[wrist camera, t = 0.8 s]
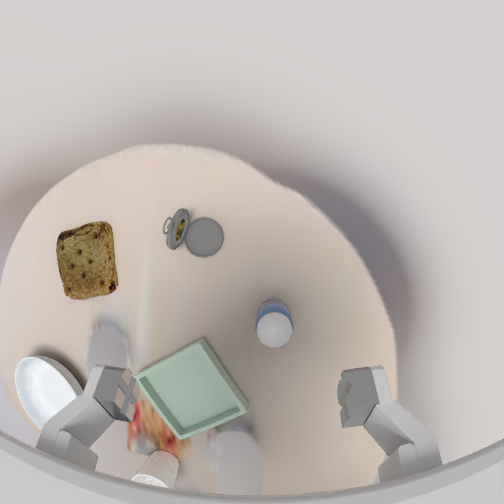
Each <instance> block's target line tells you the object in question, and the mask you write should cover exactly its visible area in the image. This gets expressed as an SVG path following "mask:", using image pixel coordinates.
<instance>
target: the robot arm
mask: <svg viewBox="0 0 504 504" xmlns="http://www.w3.org/2000/svg"><path fill="white" fill-rule="evenodd" d="M341 377H342V380H340V381H339V384H338V402H339V404H340V405H341V406H342V410H341V412H340V415H341V422H342V428H345V427H354V426H362V425H364V426H363V427H364V428H365V429H366V430H367V431H368V433H369V434H370V435H371V436H372V437H373V438H374V440H375V441H376V442H377V443H378V444H379V445H380V447H381V448H382V449H383V450H384V451H385V452H386V454H387V455H388V456H389V457H388V458H387V459H386V460H385V461H384V462H383V463H382V464H381V465H380V466H379V467H378V470H379V477H380V483H378V484H372V485H367V486H362V487H356V488H351V489H344V490H337V491H330V492H321V493H311V494H298V495H276V496H246V495H245V496H244V495H224V494H211V493H201V492H192V491H184V490H178V489H171V488H165V487H160V486H154V485H149V484H144V483H140V482H135V481H131V480H127V479H123V478H119V477H115V476H112V475H108V474H105V473H101V472H98V471H95V468H96V464H97V459H98V456H97V454H96V453H94V452H93V451H92V450H90V449H89V448H90V446H91V445H92V444H93V443H94V442H95V441H96V440H97V439H98V438H99V437H100V436H101V435H102V434H103V433H104V431H105V430H106V429H107V428H108V427H109V426H110V425H111V424H112V423H113V422H114V420H120V421H126V422H132V420H133V416H134V412H135V407H134V405H133V404H134V403H135V402H136V401H137V400H138V398H139V393H140V387H139V383H138V381H137V380H136V379H135V378H134V377H132V372H131V370H130V369H129V368H120V367H113V366H107V365H100V364H96V365H95V366H94V367H93V369H92V372H91V374H90V376H89V379H88V381H87V384H86V386H85V389H84V391H83V394H82V395H79V396H77V397H76V398H75V399H74V400H73V401H71V402H70V403H69V404H68V405H66V406H65V407H64V408H63V409H62V410H60V411H59V412H58V413H57V414H55V415H54V416H53V417H52V418H51V419H49V420H48V421H47V422H46V423H45V424H44V426H43V429H42V432H41V434H40V437H39V440H38V443H37V446H36V448H35V447H33V446H30V445H28V444H26V443H24V442H22V441H20V440H18V439H16V438H14V437H12V436H10V435H9V434H7V433H5V432H3V431H1V430H0V504H504V439H502V440H500V441H498V442H496V443H494V444H492V445H490V446H488V447H486V448H483V449H481V450H479V451H477V452H474V453H472V454H470V455H467V456H465V457H462V458H460V459H457V460H455V461H452V462H449V463H447V464H444V465H442V461H441V457H440V452H439V449H438V445H437V441H436V437H435V435H434V434H433V433H431V432H430V431H429V430H428V429H427V428H426V427H425V426H424V425H422V424H421V423H420V422H419V421H418V420H417V419H416V418H415V417H414V416H413V415H411V414H410V413H409V412H408V411H407V410H406V409H405V408H403V407H402V406H401V405H400V404H399V403H398V402H397V401H394V402H393V399H392V396H391V392H390V388H389V385H388V381H387V378H386V374H385V371H384V368H383V367H382V366H381V365H379V366H372V367H363V368H356V369H348V370H343V371H342V374H341Z"/></svg>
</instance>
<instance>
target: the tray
mask: <svg viewBox="0 0 504 504" xmlns="http://www.w3.org/2000/svg"><path fill="white" fill-rule="evenodd" d="M134 378H135V379H136V380H137V381H138V383H139V387H140V388H141V390H142V391H143V393H144V394H145V396H146V397H147V398H148V400H149V401H150V403H151V404H152V405H153V407H154V408H155V409H156V411H157V412H158V413H159V415H160V416H161V417H162V419H163V420H164V421H165V423H166V424H167V425H168V427H169V428H170V429H171V430H172V432H173V433H174V434H175V435H176V437H177V438H178V439H179V440H181V439H184V438H187V437H190V436H192V435H195V434H197V433H200V432H203V431H205V430H208V429H210V428H213V427H215V426H217V425H220V424H222V423H225V422H227V421H229V420H232V419H234V418H236V417H238V416H241V415H243V414H245V413H247V412H248V405H249V403H248V402H247V400H246V399H245V398H244V396H243V395H242V393H241V392H240V390H239V389H238V388H237V386H236V385H235V383H234V382H233V380H232V379H231V378H230V376H229V375H228V373H227V372H226V370H225V369H224V367H223V366H222V364H221V363H220V361H219V360H218V358H217V357H216V355H215V354H214V352H213V351H212V349H211V348H210V346H209V344H208V343H207V341H206V340H205V338H204V337H203V338H201V339H199V340H197V341H195V342H194V343H192V344H190V345H188V346H186V347H184V348H183V349H181V350H179V351H177V352H175V353H173V354H171V355H169V356H168V357H166V358H164V359H162V360H160V361H158V362H156V363H154V364H152V365H150V366H149V367H147V368H145V369H143V370H141V371H139V372H138V373H137V374H136V375H135V376H134Z"/></svg>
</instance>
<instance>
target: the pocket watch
mask: <svg viewBox="0 0 504 504" xmlns="http://www.w3.org/2000/svg"><path fill="white" fill-rule="evenodd" d="M169 219H170V221H171V223H169V225H168V226H167V227H168V228H167V229H168V231H167V232H166V233H165V231H164V228H165V224H166V222H167V220H169ZM167 220H166V221H165V223H164V226H163V233H164V234H165V235H166V234H167V239H166V243H167V246H168V247H169V248H170V249H172V250H174V249H176V248H177V247H178V246H179V245H180V244H181V242H182V240H183V239H184V242H185V245H186V247H187V249H188V250H189V251H190V252H191V253H192V254H193V255H195V256H198V257H208V256H211V255H213V254H215V253H216V252H217V251H218V250H219V248H220V247H221V244H222V241H223V233H222V230H221V228H220V226H219V225H218V224H217V222H215V221H214V220H212V219H210V218H204V217H203V218H198V219H195V220H194V221H192V222H191V223H190V224H189V225H188V222H189V214H188V210H186V209H179V210H178V211H177V212H176V213H175V215H174V216H173V218H171V217H169V218H167Z"/></svg>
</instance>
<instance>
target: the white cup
mask: <svg viewBox="0 0 504 504" xmlns="http://www.w3.org/2000/svg"><path fill="white" fill-rule="evenodd" d="M179 467H180V464H179V461H178V459H177V458H176V457H175V456H174V455H172V454H170V453H169V452H166V451H162V450H159V451H154V452H153V453H152V454H151V455H150V456H149V458H148V459H147V460H146V461H145V462H144V464H143V465H142V466H141V467H140V469H139V470H138V471H137V473H136V474H135V475H134V477H133V478H132V481H135V482H140V483H144V484H149V485H154V486H160V487H165V488H171V489H173V486H174V484H175V480H176V477H177V473H178V470H179Z"/></svg>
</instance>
